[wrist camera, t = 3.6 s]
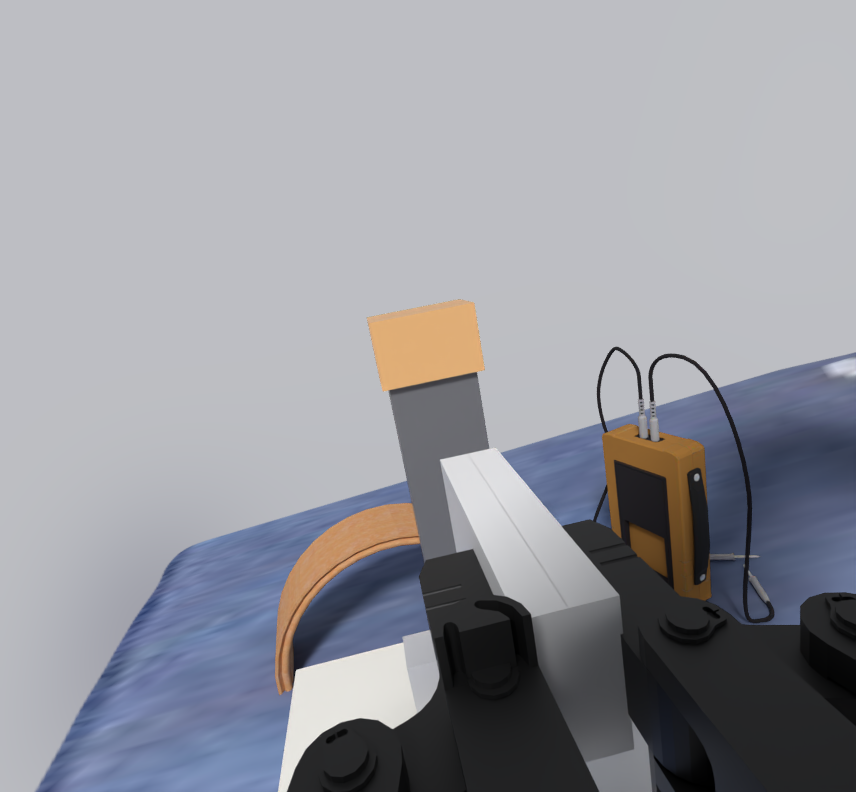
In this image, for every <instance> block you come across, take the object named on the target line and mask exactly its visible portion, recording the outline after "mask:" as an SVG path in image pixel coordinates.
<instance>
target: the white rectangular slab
mask: <svg viewBox="0 0 856 792" xmlns="http://www.w3.org/2000/svg"><path fill="white" fill-rule="evenodd" d="M438 681H439V670H438V666H437V661H436V657H435V652H434V647H433V643H432V638H431V633H430V630H428V631H424V632H420V633H416V634H412V635H408V636H404V637H403V643H399V644H395V645H391V646H387V647H384V648H380V649H376V650H372V651H368V652H364V653H360V654H356V655H352V656H348V657H345V658H341V659H337V660H333V661H329V662H325V663H321V664H317V665H313V666H309V667H305V668H302V669H298V670H296V674H295V681H294V688H293V694H292V701H291V708H290V715H289V722H288V728H287V735H286V742H285V749H284V756H283V762H282V769H281V776H280V783H279V790H278V792H287V790H288V787H289V784H290V781H291V779H292V776H293V773H294V770H295V768H296V766H297V764H298V762H299V760H300V759H301V757H302V755H303V753H304V751H305V750H306V748H307V747H308V746H309V745H310V744H311V743H312V742H313V741H314V740H315V739H316V738H317V737H318V736H319V735H320V734H321V733H323V732H325V731H326V730H328V729H330V728H332V727H333V726H335V725H337V724H339V723H341V722H345V721H349V720H354V719H358V718H364V719H372V720H379V721H380V722H382V723H383V724H385V725H387V726H388V727H390V728H392V729H394V728H395V727H397V726H399V725H400V724H402V723H404V722H405V721H407V720H409V719H410V718H411V717H413V716H414V715H416V714H417V713H418V712H420V711H421V710H422V709H423V708H424V706H425V705H426V704H427V703H428V702H429V701H430V700H431V698H432V696H433V694H434V693H435V691H436V689H437V685H438ZM631 720H632V719H631ZM632 730H633V740H634V749H633V750H630V751H626V752H623V753H619V754H616V755H612V756H608V757H605V758H601V759H598V760H594V761H591V762H587V763H586V765H587V767H588V769H589V771H590V773H591V775H592V777H593V779H594V781H595V783H596V785H597V788H598V790H599V792H652V784H651V773H650V762H649V750H648V745H647V743H646V742H645V740H644V738H643V737H642V735H641V734H640V732H639V731H638V729H637V727H636V726H635V724H634V723H633V721H632Z"/></svg>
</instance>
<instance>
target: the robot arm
mask: <svg viewBox="0 0 856 792" xmlns="http://www.w3.org/2000/svg"><path fill="white" fill-rule="evenodd" d="M440 463H441V469H442V474H443V480H444V485H445V491H446V496H447V502H448V507H449V513H450V518H451V524H452V530H453V535H454V541H455V546H456V552H457V553H453V554H449V555H445V556H441V557H436V558H432V559H428V560H426V561H425V563H424V566H423V568H422V571H421V573H420V575H419V579H420V584H421V589H422V594H423V599H424V604H425V609H426V613H427V618H428V623H429V628H430V633H431V638H432V643H433V647H434V652H435V657H436V661H437V666H438V670H439V681H438V685H437V689H436V691H435V693H434V694H433V696H432V698H431V700H430V701H429V702H428V703H427V704H426V705H425V706H424V708H423V709H422V710H421V711H420V712H418V713H417V714H416V715H414V716H413V717H411V718H410V719H409V720H407V721H405V722H404V723H402V724H400V725H399V726H397V727H395V728H394V729H392V728H390V727H388V726H387V725H385V724H383V723H382V722H380V721H379V720H372V719H364V718H358V719H354V720H349V721H345V722H341V723H339V724H337V725H335V726H333V727H332V728H330V729H328V730H326V731H325V732H323V733H321V734H320V735H319V736H318V737H317V738H316V739H315V740H314V741H313V742H312V743H311V744H310V745H309V746H308V747H307V748H306V750H305V751H304V753H303V755H302V757H301V759H300V760H299V762H298V764H297V766H296V768H295V770H294V773H293V776H292V779H291V781H290V784H289V787H288V790H287V792H599V790H598V788H597V785H596V783H595V781H594V779H593V777H592V775H591V773H590V771H589V769H588V767H587V765H586V763H587V762H591V761H594V760H598V759H601V758H605V757H608V756H612V755H616V754H619V753H623V752H626V751H630V750H633V749H634V740H633V730H632V721H633V723H634V724H635V726H636V727H637V729H638V731H639V732H640V734H641V735H642V737H643V738H644V740H645V742H646V743H647V745H648V750H649V762H650V773H651V784H652V792H856V594H851V593H846V592H844V593H822V594H819V595H816V596H812V597H809V598H808V599H807V600H806V601H805V602H804V603H803V604H802V605H801V606H800V625H745V624H741V623H740V622H738V621H737V620H736V619H735V618H734V617H733V616H732V615H730V614H729V613H727V612H726V611H724V610H723V609H721V608H720V607H718V606H717V605H715V604H712V603H709V602H706V601H703V600H701V599H698V598H690V597H682V596H680V595H679V594H678V593H677V592H676V591H675V590H673V589H672V588H671V587H670V586H669V585H668V584H667V583H666V582H665V581H664V580H663V579H662V578H661V577H660V576H659V575H658V574H657V573H656V572H655V571H654V570H653V569H652V568H651V567H650V566H649V565H648V564H647V563H646V562H645V561H644V560H643V559H642V558H641V557H638V556H637V554H636V553H635V552H634V551H633V550H632V549H631V548H630V547H629V546H628V545H626V544H625V542H624V541H623V540H622V539H621V538H620V537H619V536H618V535H617V534H616V533H615V532H614V531H613V530H612V529H610V528H608V527H606V526H603V525H601V524H599V523H597V522H594V521H592V520H585V521H581V522H577V523H573V524H568V525H564V526H561V525H560V524H559V523H558V522H557V520H556V519H555V518H554V517H553V516H552V514H551V513H550V512H549V511H548V510H547V508H546V507H545V506H544V505H543V504H542V503H541V501H540V500H539V499H538V498H537V497H536V495H535V494H534V493H533V492H532V491H531V489H530V488H529V487H528V486H527V485H526V483H525V482H524V481H523V480H522V479H521V478H520V476H519V475H518V474H517V473H516V472H515V470H514V469H513V468H512V467H511V466H510V464H509V463H508V462H507V461H506V460H505V458H504V457H503V456H502V455H501V454H500V453H499V452H498V450H497V449H496V448H491V449H487V450H482V451H478V452H473V453H468V454H464V455H459V456H455V457H450V458H445V459H441V460H440ZM631 719H632V720H631Z"/></svg>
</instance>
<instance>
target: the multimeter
mask: <svg viewBox="0 0 856 792" xmlns="http://www.w3.org/2000/svg"><path fill="white" fill-rule="evenodd" d="M615 350H618V351H620V352H621V353H623V354H624V355H625V356H626V357H627V358H628V359H629V360H630V361H631V363H632V364H633V366H634V368H635V370H636V373H637V380H638V392H639V399H638V404H639V417H638V422H639V427H638V426H637V425H632V424H628V425H625V426H622V427H620V428H617V429H615V430H612V431H609V432H608V431H607V428H606V425H605V421H604V418H603V414H602V408H601V402H600V386H601V380H602V375H603V372H604V369H605V366H606V364H607V362H608V360H609V358H610V356H611V355H612V353H613V352H614V351H615ZM668 357H674V358H675V357H676V358H680V359H684V360H686V361H688V362H690V363H691V364H693V365H695V366H696V367H697V368H698V369H699V370H700V371H701V372H702V373H703V374H704V376H705V377H706V379H707V380H708V381H709V383H710V384H711V385H712V387H713V389H714V391H715V392H716V394H717V396H718V398H719V400H720V402H721V404H722V406H723V408H724V411H725V413H726V416H727V418H728V420H729V423H730V426H731V429H732V431H733V434H734V437H735V440H736V444H737V447H738V451H739V455H740V458H741V463H742V468H743V472H744V477H745V484H746V491H747V505H748V512H747V537H746V551H745V555H744V556H735V555H734V553H732V554H710V552H709V550H710V539H709V522H708V506H707V489H706V469H705V450H704V446H703V445H702V444H700V443H699V442H697V441H694V440H691V439H685V438H681V437H677V436H673V435H669V434H665V433H661V432H659V426H658V419H657V418H656V407H655V401H654V393H653V379H652V375H653V370H654V367H655V365H656V363H657V362H658V361H659V360H661V359H663V358H668ZM649 389H650V415H651V418H650V420H649V422H650V429H647V417H646V416H645V411H644V401H643V400H644V399H643V398H642V386H641V375H640V371H639V368H638V366H637V365H636V363H635V361H634V360H633V359H632V358H631V357H630V355H628V353H626V352H625V351H624V350H623V349H621V348H619V347H614V348H612V349H611V351H610V352H609V353H608V355H607V357H606V359H605V361H604V363H603V366H602V368H601V371H600V374H599V379H598V385H597V402H598V409H599V414H600V418H601V422H602V426H603V429H604V431H605V433H604V434H603V435H602V440H603V450H604V459H605V469H606V479H607V485H606V487H605V490H604V493H603V495H602V498H601V500H600V503H599V506H598V508H597V511H596V513H595V516H594V519H593V521H594V522H596V520H597V517H598V514H599V511H600V509H601V506H602V504H603V501H604V498H605V496H606V493H607V491H608V498H609V508H610V517H611V525H612V530H613V531H614V532H615V533H616V534H617V535H618V536H619V537H620V538H621V539H622V540H623V541H624V542H625V544H626V545H628V546H629V547H630V548H631V549H632V550H633V551H634V552H635V553H636V554H637V556H638V557H641V558H642V559H643V560H644V561H645V562H646V563H647V564H648V565H649V566H650V567H651V568H652V569H653V570H654V571H655V572H656V573H657V574H658V575H659V576H660V577H661V578H662V579H663V580H664V581H665V582H666V583H667V584H668V585H669V586H670V587H671V588H672V589H673V590H675V591H676V592H677V593H678V594H679V595H680V596H682V597H690V598H698V599H701V600H703V601H706V600H707V599H709V598H711V597H712V595H711V579H710V560H733V561H735V558H745V565H744V564H743V566H744V580H743V605H744V612H745V616H746V618H747V620H748V621H749V622H752V623H760V622H767V621H770V620H771V619H772V618H773V617H774V609H773V607H772V605H771V603H770V600H769V597H768V595H767V594H766V592H765V591H764V589H763V588H762V586H761V585H760V583H759V582H758V579H757V577H755V576H752V575H751V573H750V571H749V558H757V557H761V556H756V555H750V542H751V522H752V499H751V489H750V482H749V476H748V471H747V466H746V461H745V457H744V454H743V450H742V446H741V443H740V439H739V436H738V433H737V431H736V428H735V425H734V422H733V419H732V417H731V415H730V412H729V410H728V407H727V405H726V403H725V401H724V399H723V397H722V395H721V393H720V392H719V390H718V388H717V386H716V385H715V383H714V382H713V380H712V379H711V378H710V376H709V375H708V373H707V372H706V371H705V370H704V369H703V368H702V367H701V366H700V365H699V364H698V363H697V362H695V361H694V360H691V359H690V358H688V357H686V356H684V355H679V354H664V355H662V356H660V357H658V358H657V359H656V360H655V361H654V362H653V363H652V365H651V367H650V370H649ZM748 575H749V576H750V577H749V581H750V582H751V583H752V584H753V586H754V588H755V589H756V591H757V592H758V594H759V595H760V597H761V599H762V600H763V601H764V602H765V603H766V604H767V605H768V607H769V609H770V615H769V616H768V617H766V618H761V619H751V618H750V616H749V613H748V606H747V584H748Z"/></svg>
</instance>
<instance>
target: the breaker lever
mask: <svg viewBox="0 0 856 792" xmlns="http://www.w3.org/2000/svg"><path fill="white" fill-rule="evenodd" d="M367 321H368V326H369V330H370V335H371V340H372V345H373V350H374V354H375V359H376V364H377V368H378V373H379V378H380V382H381V386H382V390H383V391H387V390H388V391H389V396H390V400H391V405H392V410H393V415H394V420H395V424H396V429H397V434H398V439H399V444H400V448H401V453H402V458H403V463H404V468H405V472H406V477H407V482H408V487H409V492H410V497H411V502H412V506H413V511H414V516H415V521H416V526H417V530H418V535H419V540H420V545H421V550H422V554H423V559H424V563H425V561H426V560H428V559H432V558H436V557H441V556H445V555H449V554H453V553H457V552H456V546H455V541H454V535H453V530H452V524H451V518H450V513H449V507H448V502H447V496H446V491H445V485H444V480H443V474H442V469H441V463H440V460H441V459H445V458H450V457H455V456H459V455H464V454H468V453H473V452H478V451H482V450H487V449H489V444H488V438H487V432H486V426H485V420H484V413H483V408H482V401H481V395H480V389H479V383H478V377H477V372H478V371H482V370H485V368H484V362H483V355H482V350H481V343H480V336H479V330H478V324H477V317H476V311H475V305H474V303H473V302H469V301H465V300H461V299H458V300H453V301H448V302H443V303H438V304H433V305H428V306H423V307H418V308H413V309H407V310H403V311H397V312H392V313H387V314H382V315H377V316H372V317H367Z"/></svg>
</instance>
